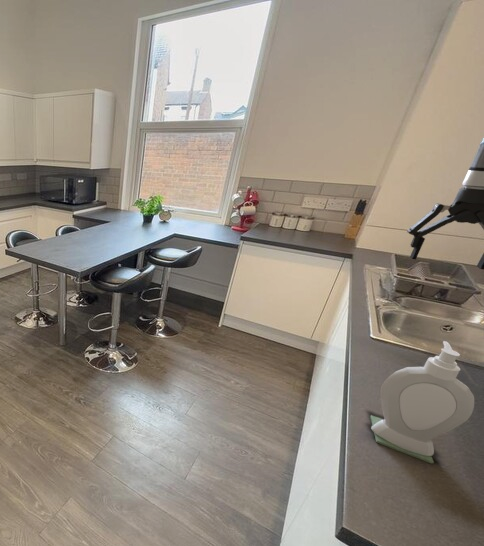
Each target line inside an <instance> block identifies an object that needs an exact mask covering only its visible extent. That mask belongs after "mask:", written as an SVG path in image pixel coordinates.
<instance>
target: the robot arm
mask: <svg viewBox="0 0 484 546" xmlns="http://www.w3.org/2000/svg"><path fill="white" fill-rule="evenodd" d="M461 186H462V187H460V188H459V189H458V191H457V194H456V196H455V198H454V200H453V202H452V203H451V204H450V205H448V204H443V203H439V202H438V203H436V204H434V206H433V208H432V209H431V211H429V212H428V213H427V214H426V215H424V216H423V217H422V218H421V219H419V220H418V221H417V222H415V223H414V224H413V225H411V227H410V228H408V229H407V230H406V232H407V233H408V234H409V235H412V236H413V238H412V240H411V242H410V247H411V248H413V249H412V251H411V254H410V256H409V257H410V259H411V260H415V261H416V260H417V257H418V255H419V254H420V252H421V249H422V247H423V245H424V242H425V240H426V237H425V236H426V235H428V234H431V233H432V232H434V231H436V230H438V229H441V228H442V227H444V226H446V225H448V224H451V223H453V222H456V223H460V224H462V223H463V224H465V223H467V224H471V225H472V224H474V225H476V224H478V225H479V226H480V227H481V228H482V229H483V230H484V138H482V141H481V142H480V143H479V146H478V147H477V150H476V153H475V156H474V157H473V160H472V162H471V164H470V167H469V168H468V170H467V171H466V175H465V176H464V178H463V181H462V183H461ZM445 211H448V213H449V214H447V215H446V216H443V217H442V218H441V219H439V220H437V221H435V222H433V223H430V222H431V221H432V220H434V218H436V217H437V216H438V215H439V214H440V213H444V212H445ZM428 223H430V224H429V225H428V226H427V224H428ZM425 226H426V227H425ZM423 227H424V228H423ZM476 267H477V268H478V269H479V270H484V252H483V253H482V255H481V257H480V259H479V261H478V263H477V265H476Z"/></svg>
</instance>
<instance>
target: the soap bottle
mask: <svg viewBox="0 0 484 546" xmlns="http://www.w3.org/2000/svg"><path fill="white" fill-rule="evenodd" d="M442 344H443V348H441V349H440V350H441V352H440V354H439V355H435V356H430V357H428V358H427V359H426V361H425V363H424V365H423V366H406V367H403V368H401V369H399V370H396V371H394V372H393V373H392V374H391V375H389V376H388V377H387V378H386V379H385V380H384V381H383V383H382V384H381V387H380V392H379V393H380V394H379V395H380V406H381V410H382V414H383V418H384V419H383V420H381V421H379V422H377V423H376V424H374V425H373V426H372V425H371V427H370V429H371V431H372V432H373V433H374V432H375V433H376V434H377V435H378V436H380V437H381V438H383V439H385V440H387V441H388V442H390V443H392V444H394V445H396V446H398V447H400V448H402V449H405V450H408V451H411V452H414V453H418V454H421V455H425V456H431V457H432V456H433V455H434V454H435V447H434V442H433V440H434V439H436V438H439V437H440V436H443V435H445V434H446V433H449V432H450V431H452V430H454V429H456V428H457V427H459V426H461V425H463V424H464V423H465V422H467V421H468V420H469V419H470V417H471V416H472V414H473V412H474V409H475V395H474V394H473V392H472V390H470V388H469V387H468V385H466V384H465V383H464V382H462V381H461V380H459V379H458V378H457V377H458V375H459V373H460V371H461V368H460V366H459V365H458V363H457V362H456V360H457V358H458V357H460V356H461V354H460V353H459V352H457V351H456V350H453V348H452V345H451V344H450V343H449V342H448V341H445V340H443V341H442Z"/></svg>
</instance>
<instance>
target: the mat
mask: <svg viewBox="0 0 484 546" xmlns="http://www.w3.org/2000/svg"><path fill="white" fill-rule="evenodd" d="M369 417H370V422H371V427H372V426H373V425H374V424H376V423H377V422H379V421H381V420H384V419H383V418H381V417H377V416H374V415H370V416H369ZM373 434H374V439H375V443H377V444H378V445H382V446H385V447H387V448H390V449H392V450H394V451H398V452H400V453H403V454H405V455H408V456H410V457H413V458H416V459H419V460H421V461H423V462H426V463H428V464H431V465H433V464H434V463H435V461H434V459H433V457H432V456H425V455H421V454H418V453H414V452H411V451H408V450H405V449H402V448H400V447H398V446H396V445H394V444H392V443H390V442H388V441H387V440H385V439H383V438H381V437H380V436H378V435H377V434H376V433H375V432H373Z"/></svg>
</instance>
